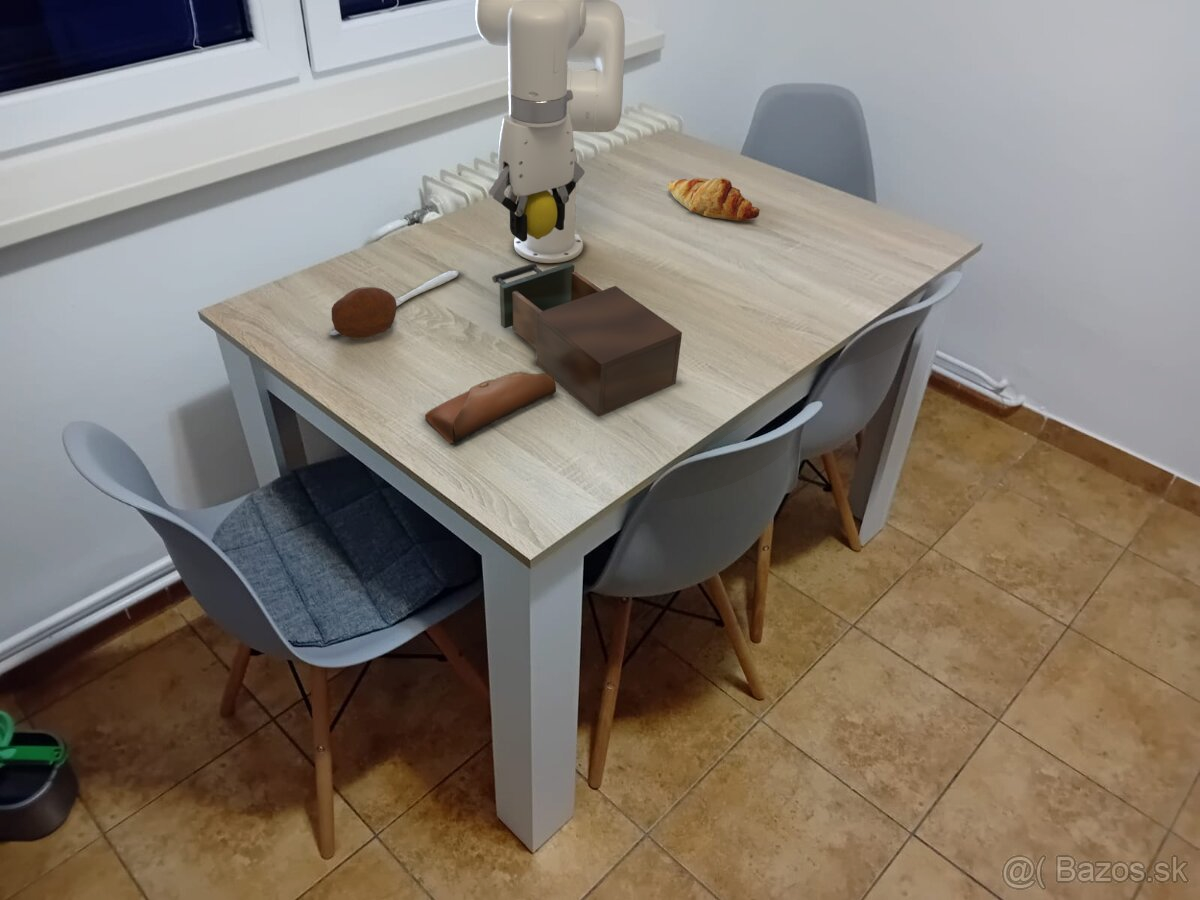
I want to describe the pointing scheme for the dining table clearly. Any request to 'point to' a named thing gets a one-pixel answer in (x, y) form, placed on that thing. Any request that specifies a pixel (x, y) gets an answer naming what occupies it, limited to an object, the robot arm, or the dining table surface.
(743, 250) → the dining table surface
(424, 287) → the butter knife
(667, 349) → the cabinet
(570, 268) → the drawer
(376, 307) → the potato
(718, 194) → the croissant
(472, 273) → the dining table surface
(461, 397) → the sunglasses case
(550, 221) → the lemon
